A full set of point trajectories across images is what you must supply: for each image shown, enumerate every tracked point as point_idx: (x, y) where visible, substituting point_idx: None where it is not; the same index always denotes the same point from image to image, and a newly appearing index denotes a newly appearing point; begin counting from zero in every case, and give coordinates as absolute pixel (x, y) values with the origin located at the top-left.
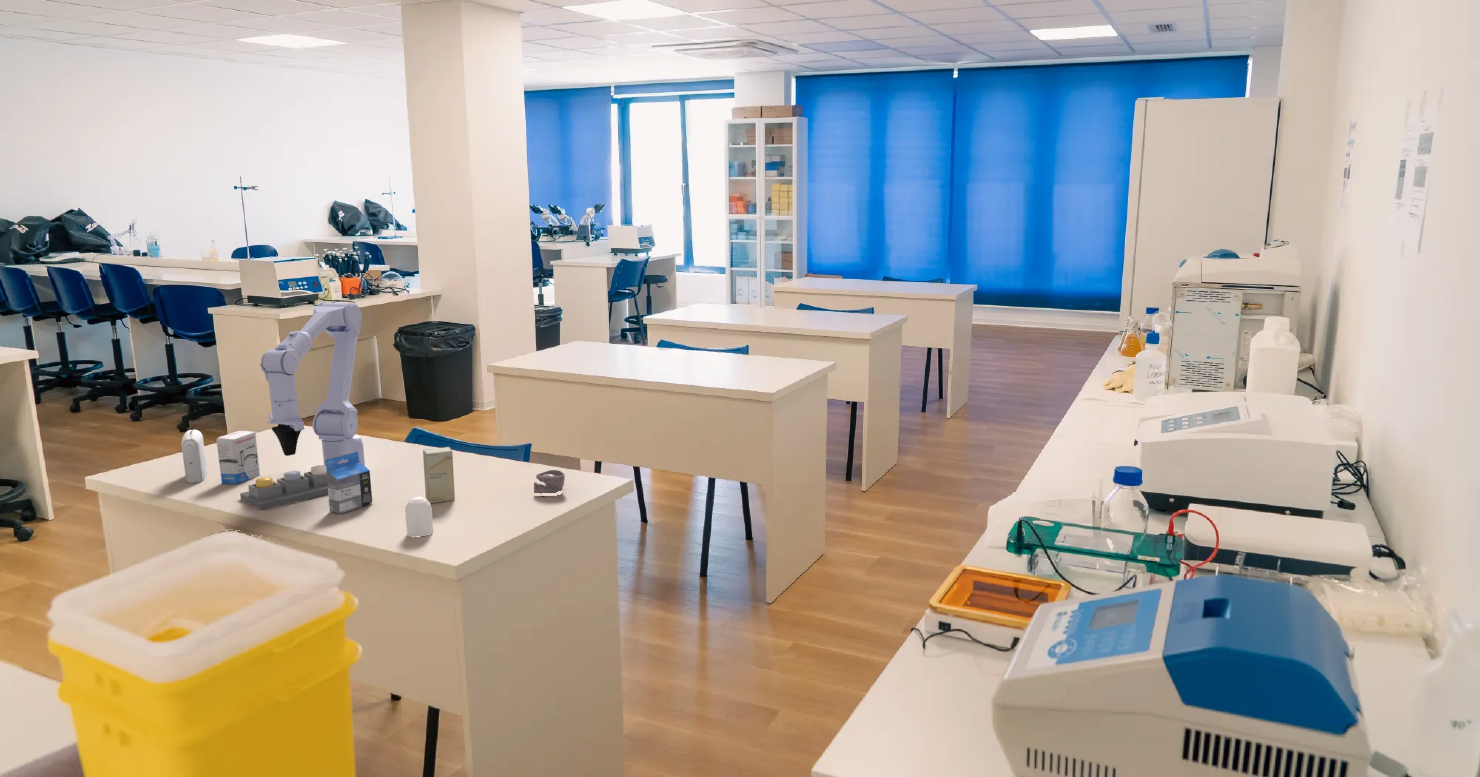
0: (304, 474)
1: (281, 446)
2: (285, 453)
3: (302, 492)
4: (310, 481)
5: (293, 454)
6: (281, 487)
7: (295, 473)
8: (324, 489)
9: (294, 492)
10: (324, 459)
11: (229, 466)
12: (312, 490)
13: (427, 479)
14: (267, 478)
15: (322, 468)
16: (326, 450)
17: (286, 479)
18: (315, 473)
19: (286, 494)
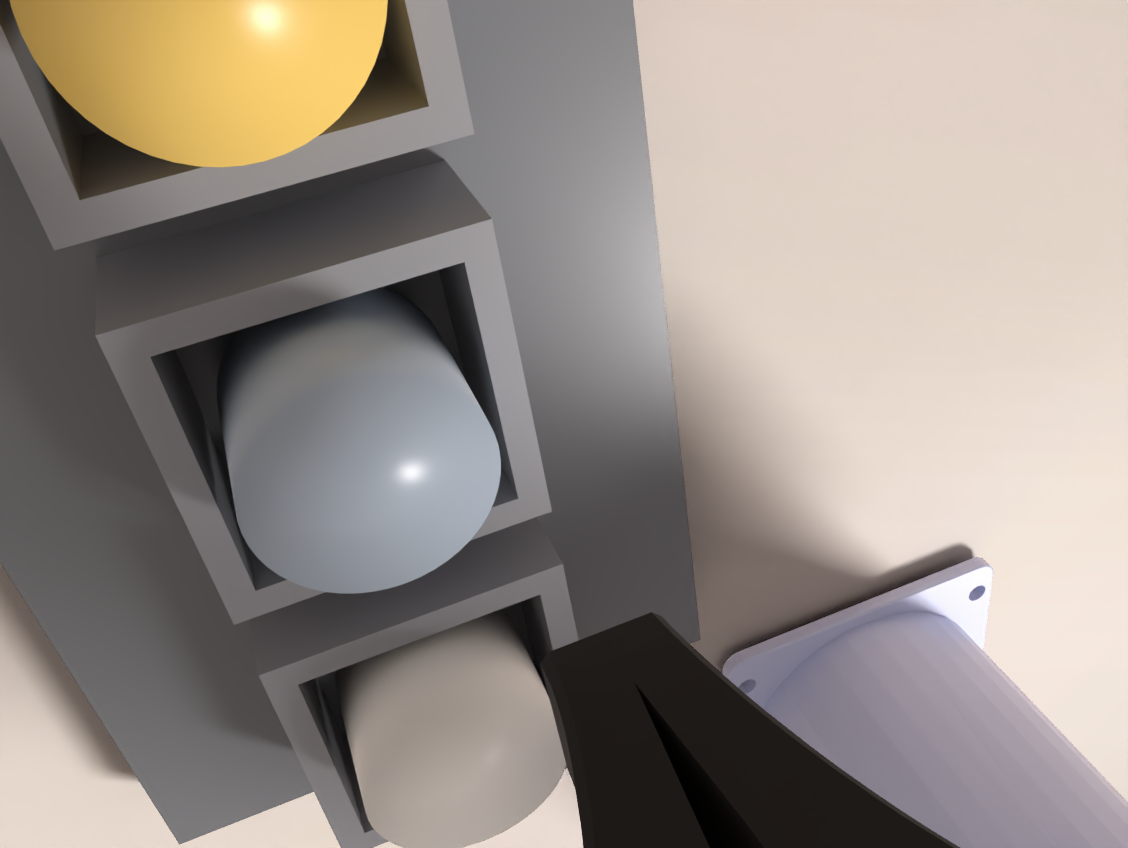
0: (541, 558)
1: (760, 734)
2: (581, 676)
3: (36, 451)
4: None
5: (563, 750)
6: (305, 222)
7: (315, 535)
8: (72, 675)
9: (95, 355)
10: (951, 710)
11: None
12: (82, 561)
13: None
14: (227, 68)
15: (376, 821)
16: (974, 825)
17: (280, 362)
18: (375, 704)
19: (37, 243)
